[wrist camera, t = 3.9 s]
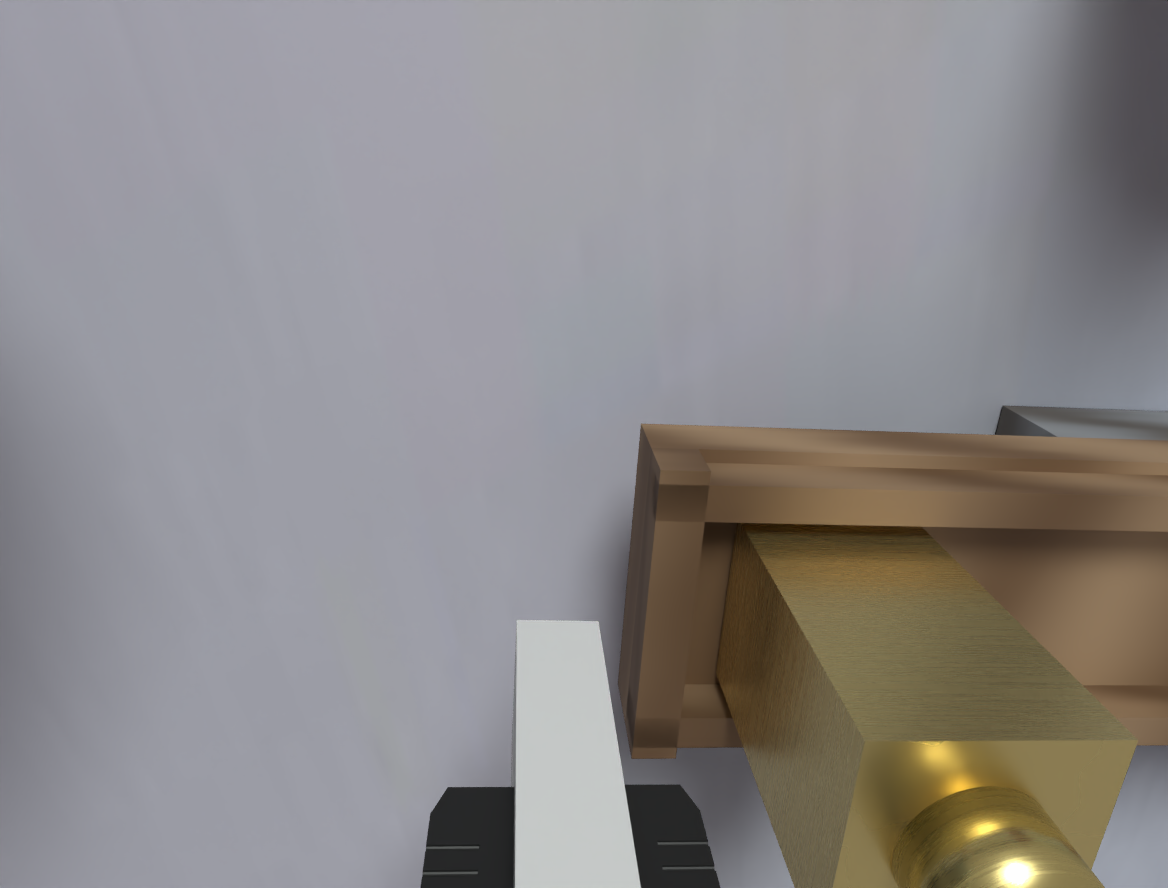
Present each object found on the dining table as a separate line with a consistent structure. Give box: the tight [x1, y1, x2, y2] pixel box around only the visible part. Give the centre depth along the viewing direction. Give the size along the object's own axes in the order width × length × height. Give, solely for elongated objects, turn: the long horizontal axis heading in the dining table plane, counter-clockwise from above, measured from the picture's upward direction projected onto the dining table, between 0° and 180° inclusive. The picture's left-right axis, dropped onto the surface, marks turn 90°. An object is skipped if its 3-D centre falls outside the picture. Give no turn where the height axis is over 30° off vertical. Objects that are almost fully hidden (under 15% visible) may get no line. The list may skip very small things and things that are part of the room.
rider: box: [716, 523, 1138, 888], centre depth 15 cm, size 4×4×8 cm
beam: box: [618, 406, 1168, 759], centre depth 22 cm, size 28×7×7 cm, turn 87°
